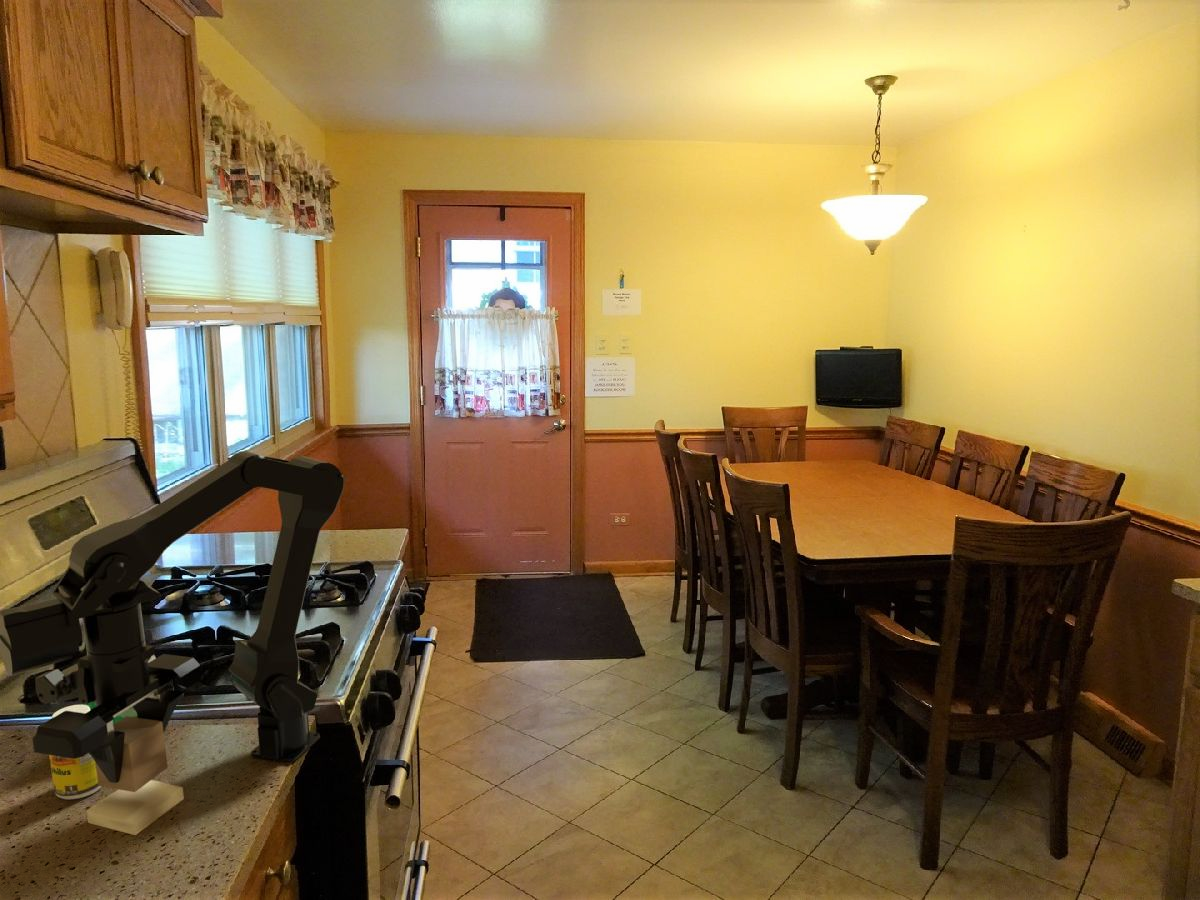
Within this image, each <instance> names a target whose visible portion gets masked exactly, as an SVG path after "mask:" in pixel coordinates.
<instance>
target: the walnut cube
mask: <svg viewBox="0 0 1200 900" xmlns="http://www.w3.org/2000/svg"><path fill="white" fill-rule="evenodd" d="M114 731H120V732H125V737H124V747H123V758H122V769H121V775H120V780H119V782H117V783H112V782H109V781H108V779H107V778H106V777H105V775H104V774H103V772H102V771H101V769H100V768H99V766H98V765H97V763H96V762H95V764H96V771H97V778H98V785H99V786H102V787H101V788H109V789H113V790H115V789H116V790H118V789H119V790H125V791H131V792H136V791H137V790H139V789H140V788H141V787H142V786H144V785H145V784H146V783H148V782H149V781H150V780H153V779H155V778H156V777H157V776H158V775H160V774H161V773H162V772H164V771H165V770H166V769H167V768H168V761H167V751H166V743H165V741H166V740H165V735H164V734H165V732H164V733H163V725H162V721H156V720H149V719H142V718H135V717H129V716H126V717H125V718H123V719H122V720H120V721H118V722H117V723H115V724H114Z"/></svg>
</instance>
